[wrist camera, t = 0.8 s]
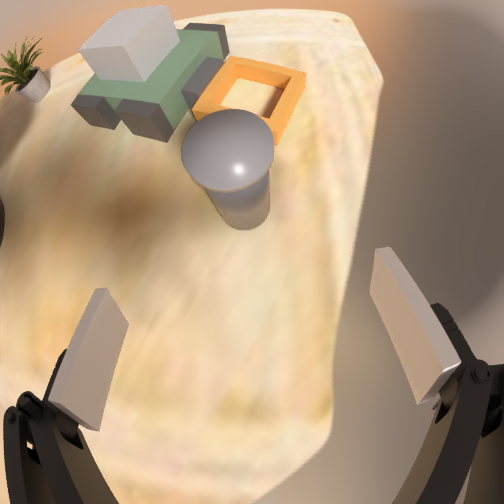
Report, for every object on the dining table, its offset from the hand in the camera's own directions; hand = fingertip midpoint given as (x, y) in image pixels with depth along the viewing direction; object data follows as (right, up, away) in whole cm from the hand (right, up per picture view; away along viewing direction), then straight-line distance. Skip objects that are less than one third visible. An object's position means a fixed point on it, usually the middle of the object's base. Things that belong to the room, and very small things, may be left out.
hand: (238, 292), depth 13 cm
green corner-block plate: (-8, +25, +21) cm, 34 cm away
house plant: (-45, +35, +26) cm, 63 cm away
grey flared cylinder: (0, +7, +18) cm, 19 cm away
